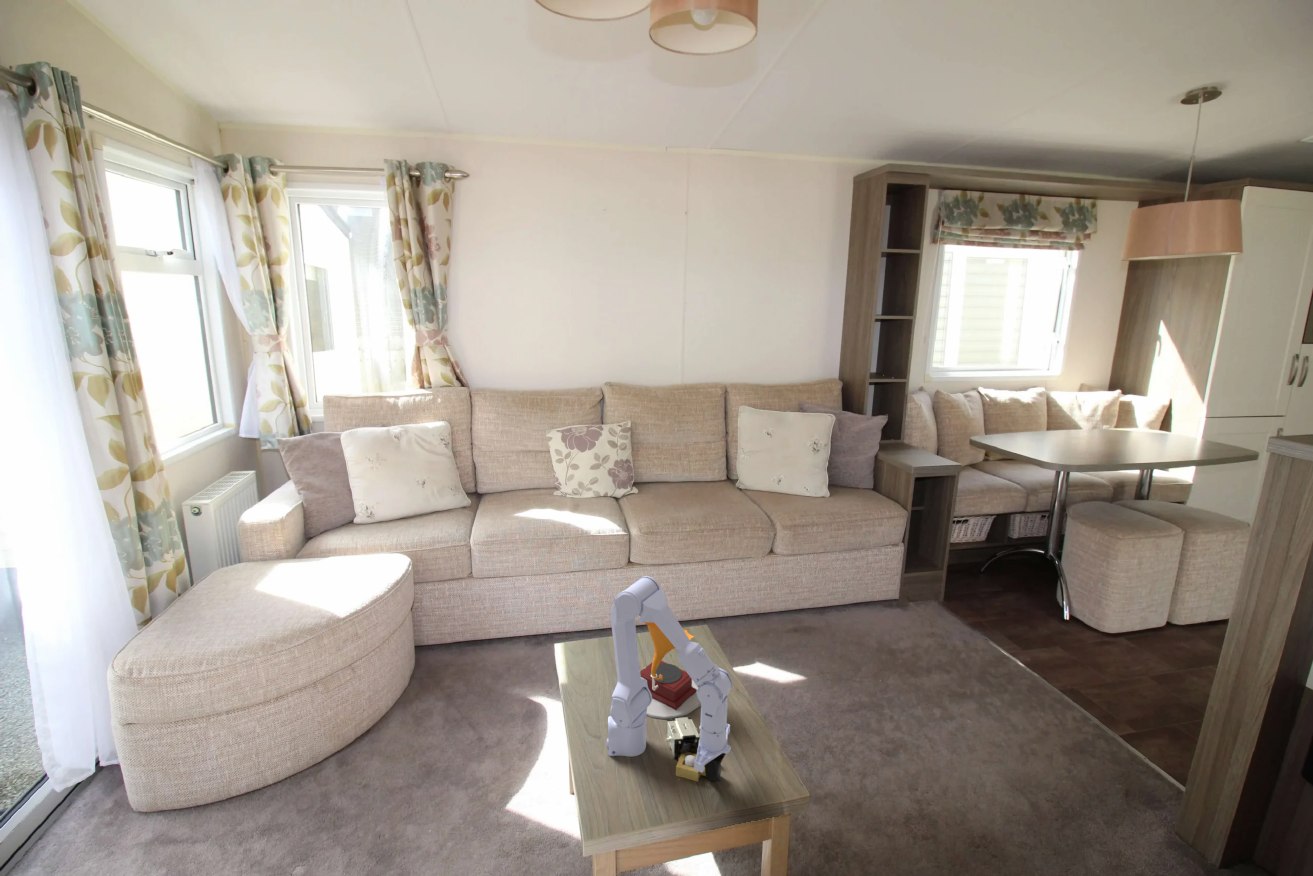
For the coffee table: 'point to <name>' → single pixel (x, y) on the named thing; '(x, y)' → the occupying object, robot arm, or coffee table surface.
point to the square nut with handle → (690, 769)
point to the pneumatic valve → (682, 736)
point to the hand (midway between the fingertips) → (711, 778)
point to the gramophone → (668, 681)
